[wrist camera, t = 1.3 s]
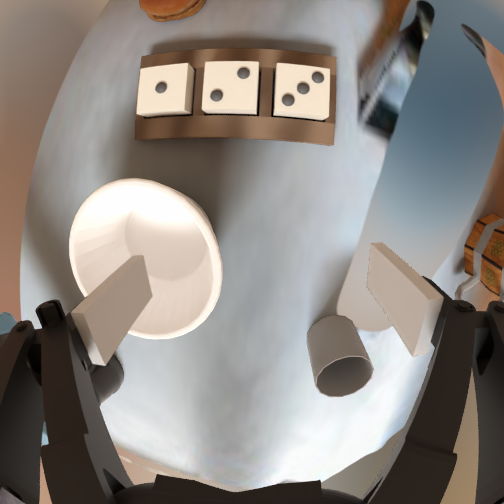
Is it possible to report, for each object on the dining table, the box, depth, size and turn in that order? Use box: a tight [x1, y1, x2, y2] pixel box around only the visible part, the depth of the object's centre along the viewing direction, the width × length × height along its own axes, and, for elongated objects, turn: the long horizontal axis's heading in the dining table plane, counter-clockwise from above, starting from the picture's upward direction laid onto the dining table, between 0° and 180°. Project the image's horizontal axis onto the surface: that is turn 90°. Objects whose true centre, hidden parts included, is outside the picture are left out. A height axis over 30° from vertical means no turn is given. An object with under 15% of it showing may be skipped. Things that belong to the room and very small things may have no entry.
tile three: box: [273, 63, 330, 120], centre depth 28 cm, size 6×6×4 cm
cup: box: [307, 315, 374, 397], centre depth 38 cm, size 8×8×10 cm
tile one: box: [137, 63, 195, 117], centre depth 28 cm, size 6×6×4 cm
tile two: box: [202, 61, 259, 115], centre depth 28 cm, size 6×6×4 cm
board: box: [135, 48, 336, 146], centre depth 30 cm, size 25×12×2 cm, turn 87°
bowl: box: [69, 178, 223, 339], centre depth 33 cm, size 19×19×11 cm
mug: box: [455, 213, 504, 302], centre depth 30 cm, size 20×14×15 cm
